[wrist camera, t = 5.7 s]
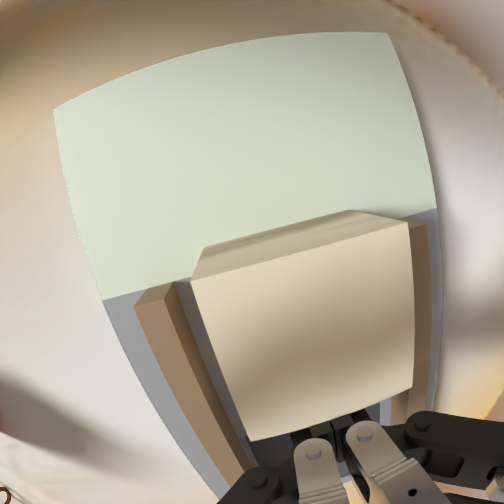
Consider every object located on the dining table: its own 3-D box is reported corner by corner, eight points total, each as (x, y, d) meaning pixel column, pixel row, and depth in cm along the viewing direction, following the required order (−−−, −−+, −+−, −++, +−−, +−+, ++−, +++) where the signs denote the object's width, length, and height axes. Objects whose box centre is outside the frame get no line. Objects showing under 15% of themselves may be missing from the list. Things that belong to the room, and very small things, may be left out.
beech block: (203, 247, 12) (189, 281, 7) (347, 209, 12) (407, 222, 7) (243, 371, 13) (250, 441, 8) (365, 334, 13) (412, 387, 9)
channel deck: (72, 117, 12) (29, 99, 8) (371, 47, 12) (407, 16, 8) (226, 490, 18) (228, 528, 14) (414, 432, 18) (435, 462, 14)
